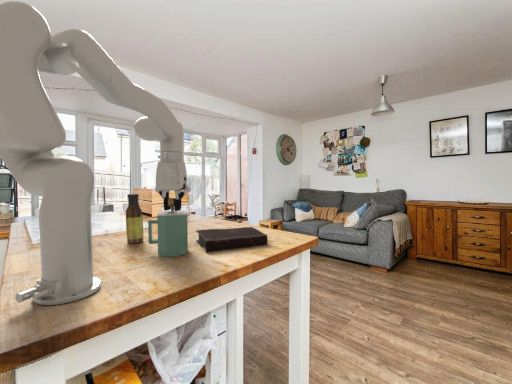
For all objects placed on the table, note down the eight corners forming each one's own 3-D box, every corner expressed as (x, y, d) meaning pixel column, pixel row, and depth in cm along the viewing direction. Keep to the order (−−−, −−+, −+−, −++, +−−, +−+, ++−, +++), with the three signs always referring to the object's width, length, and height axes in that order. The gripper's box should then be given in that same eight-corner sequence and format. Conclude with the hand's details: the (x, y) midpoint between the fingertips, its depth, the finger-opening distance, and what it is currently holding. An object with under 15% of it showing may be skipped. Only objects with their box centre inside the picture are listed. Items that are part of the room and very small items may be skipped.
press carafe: (188, 255, 85) (188, 213, 84) (147, 259, 81) (146, 215, 80) (187, 247, 95) (186, 209, 94) (150, 250, 91) (149, 211, 90)
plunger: (183, 242, 86) (183, 198, 85) (161, 244, 84) (160, 199, 83) (183, 237, 93) (182, 197, 92) (162, 239, 91) (161, 197, 90)
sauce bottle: (146, 241, 103) (145, 193, 102) (132, 245, 98) (131, 194, 96) (137, 239, 107) (136, 193, 105) (123, 242, 101) (121, 194, 100)
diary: (267, 247, 99) (268, 234, 99) (205, 254, 89) (205, 241, 88) (249, 236, 116) (249, 225, 116) (195, 241, 106) (195, 229, 105)
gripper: (144, 157, 85) (145, 210, 86) (187, 156, 81) (188, 212, 82) (158, 158, 92) (159, 208, 93) (198, 158, 88) (198, 209, 89)
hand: (172, 209), depth 88 cm, fingers closed on plunger, 3 cm apart
